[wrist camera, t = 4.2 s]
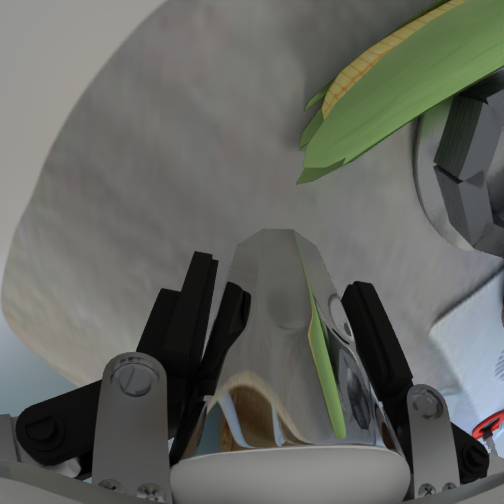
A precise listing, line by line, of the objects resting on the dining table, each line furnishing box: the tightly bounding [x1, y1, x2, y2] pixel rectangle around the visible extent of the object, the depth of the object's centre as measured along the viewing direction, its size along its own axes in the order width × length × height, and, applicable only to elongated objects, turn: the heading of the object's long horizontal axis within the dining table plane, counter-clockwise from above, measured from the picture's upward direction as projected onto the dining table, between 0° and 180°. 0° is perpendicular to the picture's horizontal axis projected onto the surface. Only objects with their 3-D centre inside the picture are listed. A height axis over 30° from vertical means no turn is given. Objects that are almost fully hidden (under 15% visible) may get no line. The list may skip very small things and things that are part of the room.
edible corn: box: [296, 0, 504, 185], centre depth 12 cm, size 5×20×5 cm
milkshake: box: [169, 229, 411, 504], centre depth 7 cm, size 5×5×10 cm
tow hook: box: [472, 411, 504, 456], centre depth 37 cm, size 8×13×9 cm
